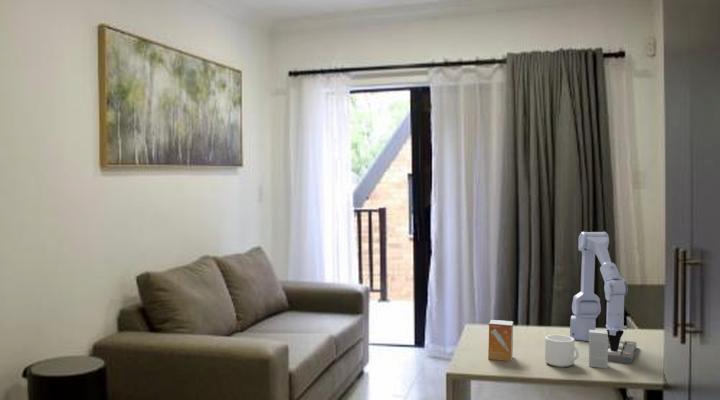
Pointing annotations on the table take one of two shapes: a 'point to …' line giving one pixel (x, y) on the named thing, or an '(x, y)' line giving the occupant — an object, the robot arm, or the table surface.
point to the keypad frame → (624, 353)
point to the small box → (500, 340)
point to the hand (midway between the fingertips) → (614, 350)
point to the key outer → (614, 352)
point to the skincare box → (598, 348)
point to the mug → (560, 350)
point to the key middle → (619, 346)
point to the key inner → (622, 341)
